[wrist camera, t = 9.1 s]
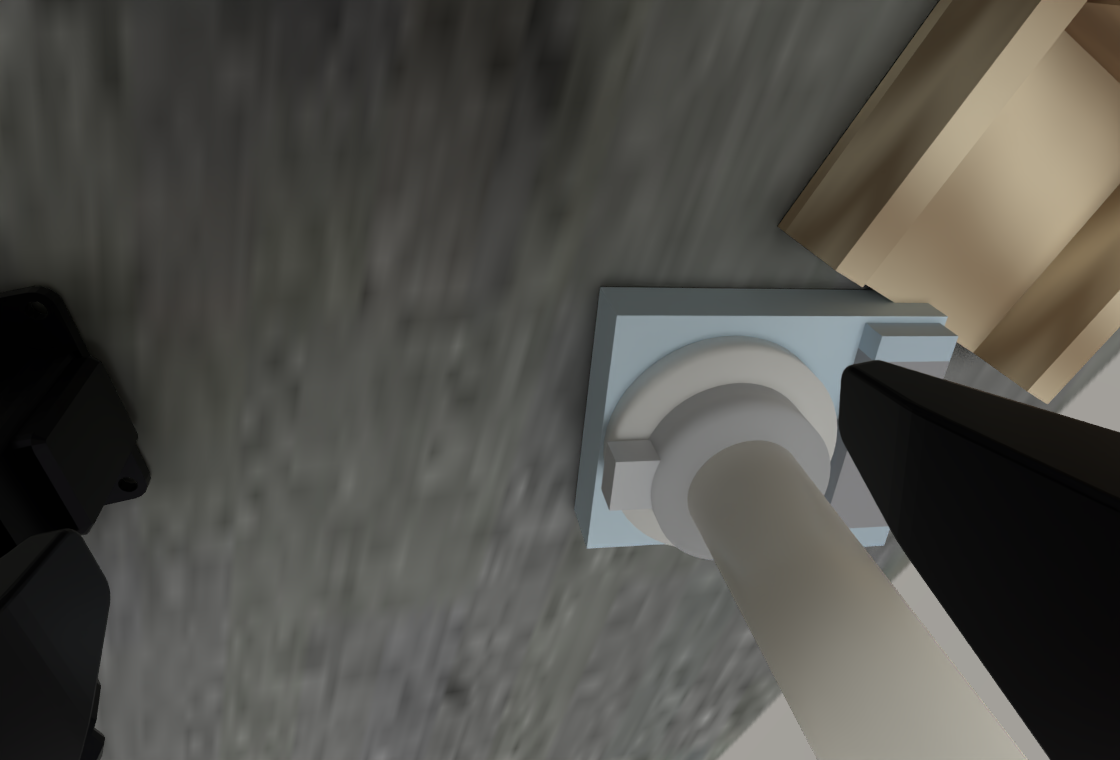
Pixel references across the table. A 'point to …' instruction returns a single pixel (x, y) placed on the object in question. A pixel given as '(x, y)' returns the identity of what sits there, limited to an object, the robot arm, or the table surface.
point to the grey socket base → (740, 377)
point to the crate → (1099, 33)
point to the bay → (984, 188)
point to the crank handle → (802, 579)
